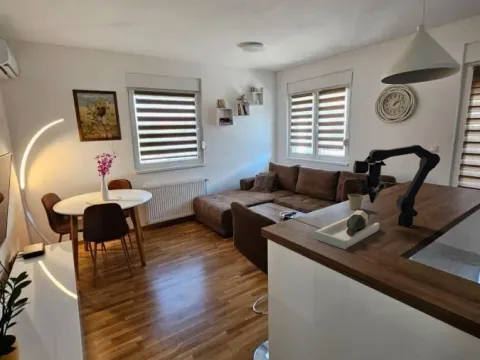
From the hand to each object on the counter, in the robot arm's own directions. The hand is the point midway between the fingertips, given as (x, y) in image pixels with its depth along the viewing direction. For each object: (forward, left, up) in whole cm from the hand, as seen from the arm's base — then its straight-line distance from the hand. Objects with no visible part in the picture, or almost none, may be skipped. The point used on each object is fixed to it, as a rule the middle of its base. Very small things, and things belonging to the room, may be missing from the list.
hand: (372, 202), depth 142 cm
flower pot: (+18, -19, -11) cm, 29 cm away
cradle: (0, +24, -11) cm, 27 cm away
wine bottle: (+3, +6, -6) cm, 9 cm away
